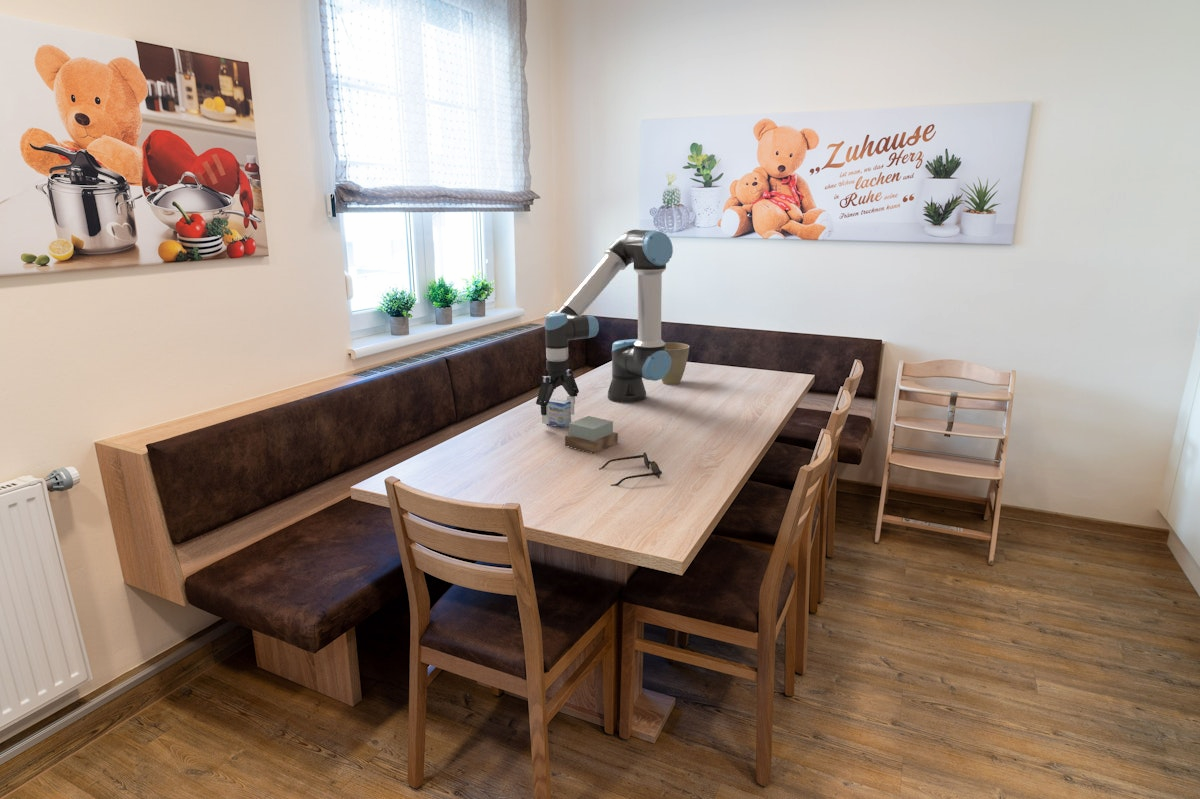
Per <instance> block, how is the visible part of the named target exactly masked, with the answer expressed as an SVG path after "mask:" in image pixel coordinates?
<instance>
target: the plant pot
mask: <svg viewBox="0 0 1200 799" xmlns="http://www.w3.org/2000/svg"><path fill="white" fill-rule="evenodd" d="M665 351H666V352H667V353H668V354H669V355H670V357H671V367H670V370H669V372H668V373H667V374H666V375H665V377H663V378H662V379H661V382H662V384H664V385H669V386H670V385H671V386H675V385H679V384H681V381H682V378H683V376H684V373H685V370H686V367H687V362H688V357H689V353H690V345H689V344H687V343H681V342H665Z"/></svg>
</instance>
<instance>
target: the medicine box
mask: <svg viewBox="0 0 1200 799" xmlns="http://www.w3.org/2000/svg"><path fill="white" fill-rule="evenodd" d="M547 405H548V406H549V421H550V424H549V425H548V426H551V425H556V426H555V427H558V426H561V427H560V428H564V427H565V428H567V427H569V426H568V425H569V423H571V422H572V414H571V401H567V400H563V399H558V398H557V399H556V398H550V400H549V402H548V404H547ZM566 426H567V427H566Z"/></svg>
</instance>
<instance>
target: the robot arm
mask: <svg viewBox="0 0 1200 799" xmlns="http://www.w3.org/2000/svg"><path fill="white" fill-rule="evenodd" d="M673 253H674V247H673V243H672V240H671V239H670V237H669V236H668V235H667V234H666V233H665V232H662V231H658V230H654V229H651V230H647V229H646V230H645V229H631V230H628V231H626V232H624V233H623V234H621V235H620V236H619V237H617V238H616V239H615V240H614V241H613V242H612V243H611V244H610V245H609V246H608V247H607V249H606V250H605V251H604V256H603V258H602V259H601V260H600V262H598V264H597V265H596V266H595V267H594V268H593V270H591V272H590V273H589V274H588V275H587V276H586V278H584V280H583V281H582V282H581V283H580V284H579V286H578V287H577V288H576V289H575V290H574V292H572V294H571V295H570V297H569V298H567V300H566V301H565V302H564V304H563V305H562V306H561V307H560V308H559V309H558V310H553V311H550V312H549V313H547V315H545V318H544V331H545V333H544V334H545V357H546V360H545V362H546V363H545V365H546V366H545V368H546V371H547V372H548V375H547V376H546V375H542V376H541V383H540V388H539V390H538V395H537V398H536V401H535V404H536V405H538V406H540V414H541V423H542V424H545V425H547V424H550V421H549V406H548V405H547V404H548V402H549V400H550V399H552V395H553V394H554V391H555V390H556V389H557V388H558V387H560V386H562V387H563V389H564V390H565V392H566V393H567V395H566V401H571V416H572V415H573V416H574V415H575V404H576V398H575V397H578V394H579V393H580V390H579V387H578V384H577V382H576V380H575V377H574V372H573V369H569V359H568V358H569V341H574V340H581V339H590V338H594V337H596V336H597V335H598V333H599V329H600V327H599V321H598V319H597V318H596V317H595V316H594V315H585V316H583V314H584V313H585V312H586V310H588V309H589V308H590V306H591V305H592V304H593V302H595V300H597V298H598V297H599V296H600V295H601V293H602V292H603V291H604V290H605V288H606V287H607V286H608V285H609V284H610V282H611V281H612V280H613V279H614V278H615V277H616V275H617V274H618V273H620V271H624V270H625V269H626V268H627V267H628V266H629V265H630V264H632V263H633V271H635V272H636V273H637V338H632V339H631V338H630V339H622V340H616V341H614V342H613V343H612V345H611V346H612V348H611V371H612V372H611V375H612V376H611V381H610V385H609V387H608V391H607V398H608V399H609V401H612V402H617V403H625V404H626V403H638V402H643V401H645V400H646V398H647V391H646V388H645V385H644V382H643V379H644V380H647V381H653V382H656V381H660V380H662V378H663V377H665V375H666V374H667V373H668V372H669V370H670V367H671V357H670V355H669V354H668V353H667V352H666V351H665V343H666V342H665V341H664V340H663V339H662V289H663V288H662V285H663V284H662V282H663V281H662V278H663V276H662V274H663V272H665V271H666V269H667V264H668V263H669V262H670V259H672V257H673Z"/></svg>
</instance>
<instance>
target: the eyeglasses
mask: <svg viewBox="0 0 1200 799" xmlns="http://www.w3.org/2000/svg"><path fill="white" fill-rule="evenodd" d="M642 458H643V462H644V465H645V467H646V468H647V470H649V469H650V468H651V472H648V473H642V474H636V475H630V476H625V477H623V478H622V479H620V480H619V481H618V482H617V483H614V484H610V487H611V486H619V485H620V484H622V483H623V482H624V481H625V480H629V479H635V478H642V477H644V478H645V477H652V476H655V477H656V478H658V479H660V478H661V475H663V471H662V470H661V469H660V467H659V465H658V463H657V462H656V461H655V460H651V461H650V460H649V458H648V455H647V452H645V451H644V452H643V454H639V455H631V456H625V457H619V458H618V457H616V458H614V459H613V458H612V459H610V460H608V461H606V462H605V463H604V464H603V465H602V466H601V467H600V468H598V469H599V471H600V470H602V468H603V469H604V468H605V467H606V466H607V465H609V463H611V462H616V461H617V462H618V461H626V460H633V459H642Z"/></svg>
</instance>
